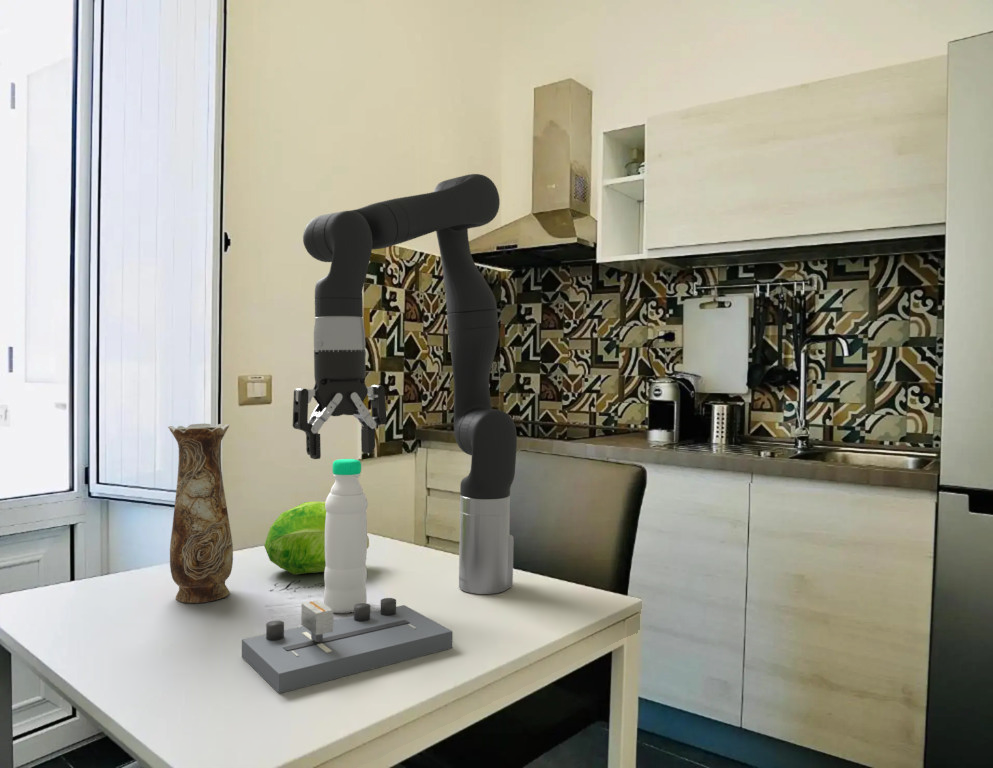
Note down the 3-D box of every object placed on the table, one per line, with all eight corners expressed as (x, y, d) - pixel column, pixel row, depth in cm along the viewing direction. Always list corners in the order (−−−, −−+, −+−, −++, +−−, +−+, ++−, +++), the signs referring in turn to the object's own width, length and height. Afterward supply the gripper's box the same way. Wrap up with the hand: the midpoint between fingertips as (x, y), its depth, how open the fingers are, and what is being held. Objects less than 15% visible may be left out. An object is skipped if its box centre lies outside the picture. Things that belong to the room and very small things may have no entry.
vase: (206, 608, 123) (207, 428, 123) (154, 601, 126) (154, 426, 126) (245, 590, 133) (246, 424, 132) (195, 583, 136) (196, 421, 136)
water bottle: (356, 616, 121) (358, 463, 120) (316, 612, 122) (318, 461, 121) (372, 602, 128) (374, 458, 127) (334, 599, 129) (336, 456, 128)
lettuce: (373, 578, 142) (374, 508, 141) (263, 586, 136) (264, 512, 136) (363, 558, 156) (364, 494, 156) (264, 564, 151) (264, 497, 150)
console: (403, 620, 119) (404, 592, 119) (452, 647, 108) (452, 617, 108) (241, 656, 103) (241, 624, 103) (278, 693, 92) (279, 657, 92)
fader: (318, 632, 105) (318, 599, 105) (333, 643, 101) (333, 609, 101) (301, 635, 104) (301, 602, 104) (315, 647, 100) (316, 612, 100)
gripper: (369, 347, 118) (371, 449, 119) (283, 348, 109) (286, 457, 110) (394, 347, 112) (395, 454, 113) (305, 347, 103) (307, 463, 104)
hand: (341, 455), depth 111 cm, fingers open, 8 cm apart
